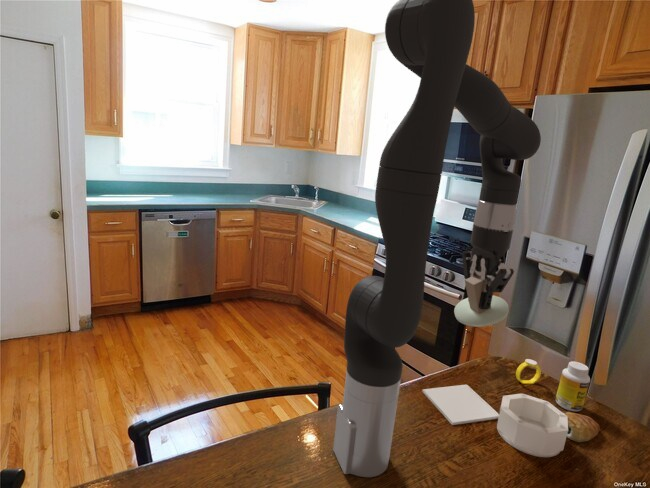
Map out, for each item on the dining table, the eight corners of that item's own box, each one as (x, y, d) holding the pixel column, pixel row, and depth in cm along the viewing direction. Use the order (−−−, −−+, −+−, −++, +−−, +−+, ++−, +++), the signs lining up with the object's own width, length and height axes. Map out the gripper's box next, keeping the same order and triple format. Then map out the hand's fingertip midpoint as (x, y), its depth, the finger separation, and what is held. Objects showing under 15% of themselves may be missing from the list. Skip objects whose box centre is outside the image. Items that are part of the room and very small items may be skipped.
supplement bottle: (574, 415, 95) (585, 374, 93) (550, 402, 99) (559, 362, 97) (586, 408, 98) (597, 368, 96) (562, 395, 103) (572, 357, 100)
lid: (475, 333, 84) (468, 299, 82) (445, 311, 94) (438, 280, 91) (520, 311, 86) (515, 278, 84) (486, 292, 96) (480, 261, 94)
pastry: (579, 418, 94) (583, 403, 94) (607, 439, 88) (612, 423, 87) (547, 424, 91) (551, 409, 90) (574, 446, 85) (579, 430, 84)
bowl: (526, 461, 79) (532, 436, 78) (484, 420, 90) (489, 397, 89) (575, 452, 83) (582, 427, 82) (530, 413, 94) (535, 391, 93)
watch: (532, 380, 109) (539, 359, 108) (539, 386, 106) (546, 365, 105) (511, 379, 108) (517, 357, 106) (518, 385, 105) (524, 363, 104)
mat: (452, 425, 88) (452, 422, 88) (422, 391, 99) (422, 389, 99) (500, 418, 92) (500, 415, 91) (466, 386, 103) (466, 384, 102)
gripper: (456, 217, 91) (444, 293, 95) (501, 232, 78) (484, 320, 82) (486, 218, 93) (472, 292, 97) (534, 233, 80) (516, 318, 84)
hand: (478, 305), depth 89 cm, fingers closed on lid, 3 cm apart
